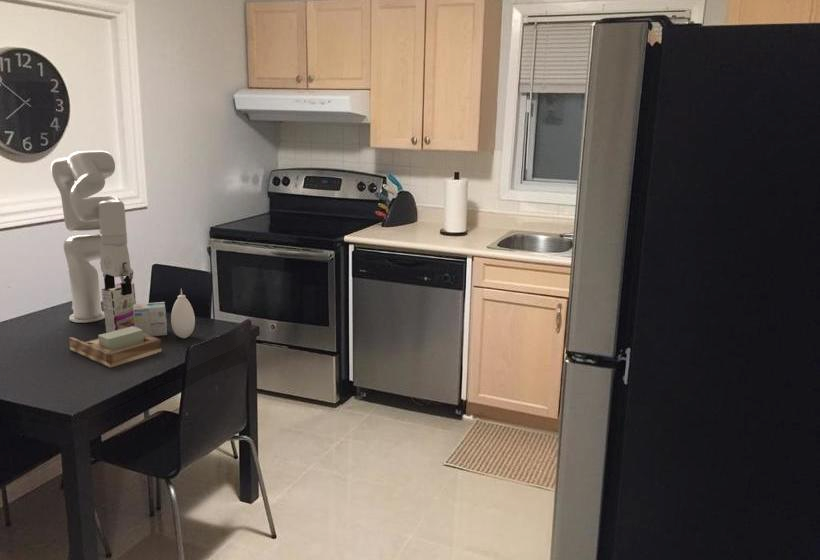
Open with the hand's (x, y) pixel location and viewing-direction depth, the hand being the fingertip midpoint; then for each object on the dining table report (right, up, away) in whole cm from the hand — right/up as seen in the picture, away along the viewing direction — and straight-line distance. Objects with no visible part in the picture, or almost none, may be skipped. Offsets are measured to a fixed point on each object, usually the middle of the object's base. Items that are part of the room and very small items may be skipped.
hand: (118, 291), depth 211 cm
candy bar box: (-10, -14, +26) cm, 31 cm away
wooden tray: (-3, -20, +5) cm, 21 cm away
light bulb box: (+2, -16, +22) cm, 27 cm away
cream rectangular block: (0, -19, +3) cm, 19 cm away
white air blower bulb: (+15, -17, +19) cm, 29 cm away
